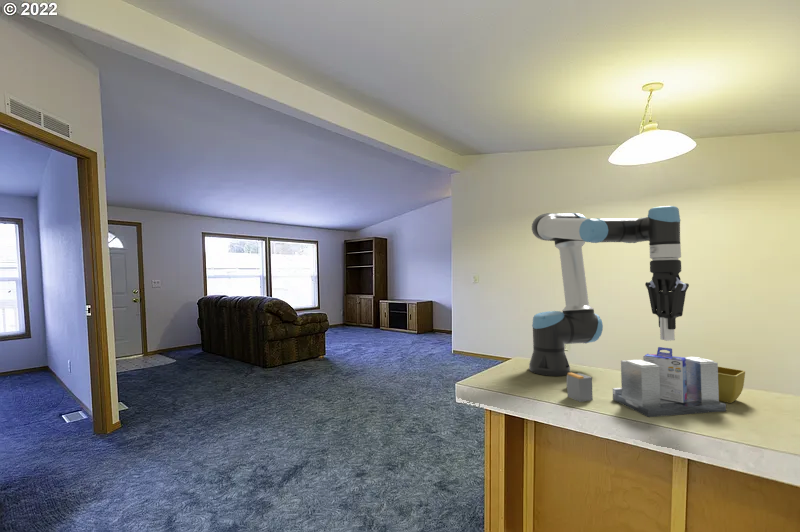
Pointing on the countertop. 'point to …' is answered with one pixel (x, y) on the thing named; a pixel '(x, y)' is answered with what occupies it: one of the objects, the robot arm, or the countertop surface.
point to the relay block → (579, 387)
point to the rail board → (645, 388)
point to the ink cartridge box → (670, 375)
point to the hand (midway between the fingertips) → (667, 339)
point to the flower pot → (730, 384)
